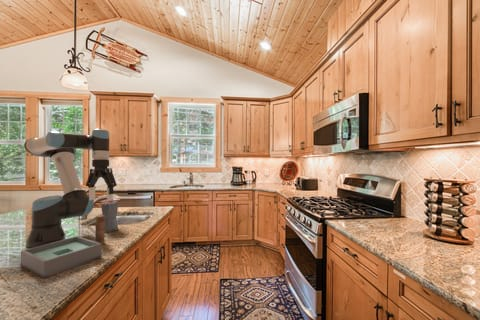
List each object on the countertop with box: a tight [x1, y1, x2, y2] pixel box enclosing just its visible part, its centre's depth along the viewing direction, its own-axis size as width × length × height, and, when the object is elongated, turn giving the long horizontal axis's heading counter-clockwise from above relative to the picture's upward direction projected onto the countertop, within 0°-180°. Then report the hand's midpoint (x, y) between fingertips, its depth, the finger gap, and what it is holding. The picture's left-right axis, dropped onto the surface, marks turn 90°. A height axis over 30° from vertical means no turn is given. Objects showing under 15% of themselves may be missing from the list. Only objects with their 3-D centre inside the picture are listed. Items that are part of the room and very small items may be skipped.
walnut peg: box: [94, 214, 106, 245], centre depth 110 cm, size 4×4×14 cm
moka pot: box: [100, 199, 119, 233], centre depth 133 cm, size 10×15×20 cm, turn 24°
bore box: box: [19, 235, 103, 279], centre depth 90 cm, size 20×20×6 cm
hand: (100, 200), depth 111 cm, fingers open, 13 cm apart
